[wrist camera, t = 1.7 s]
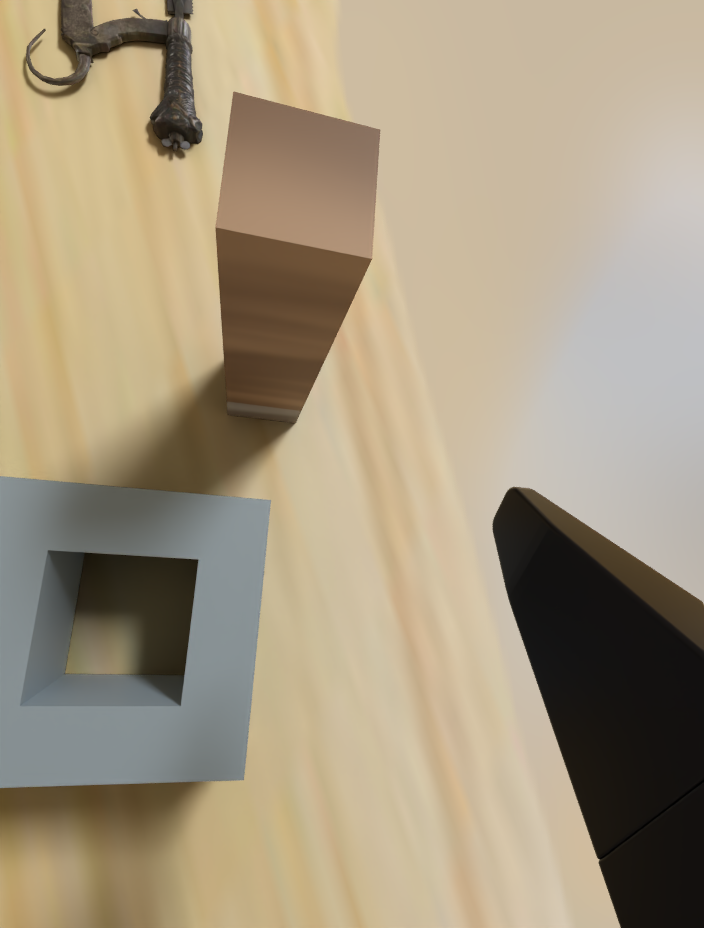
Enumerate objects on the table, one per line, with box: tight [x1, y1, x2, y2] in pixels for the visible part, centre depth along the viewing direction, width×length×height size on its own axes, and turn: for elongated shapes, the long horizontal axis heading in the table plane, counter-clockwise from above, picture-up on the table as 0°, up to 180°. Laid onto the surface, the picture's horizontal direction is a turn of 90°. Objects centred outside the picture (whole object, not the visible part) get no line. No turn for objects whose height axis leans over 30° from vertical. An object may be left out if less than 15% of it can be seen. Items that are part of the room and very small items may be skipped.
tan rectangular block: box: [216, 92, 380, 423], centre depth 16 cm, size 3×3×13 cm
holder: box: [0, 476, 271, 788], centre depth 17 cm, size 9×9×4 cm
